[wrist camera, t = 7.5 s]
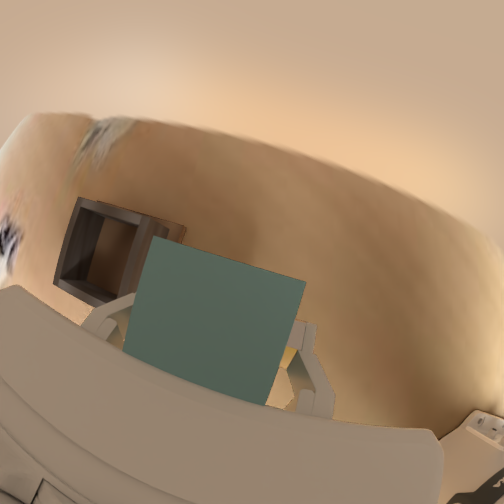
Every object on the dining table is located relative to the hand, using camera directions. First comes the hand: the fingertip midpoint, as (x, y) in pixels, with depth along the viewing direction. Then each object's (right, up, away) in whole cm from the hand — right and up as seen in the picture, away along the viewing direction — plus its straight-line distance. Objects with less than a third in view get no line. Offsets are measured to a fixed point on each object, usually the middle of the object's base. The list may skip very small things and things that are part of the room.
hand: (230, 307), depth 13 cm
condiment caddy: (-12, +2, +13) cm, 18 cm away
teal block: (0, -2, +7) cm, 7 cm away
